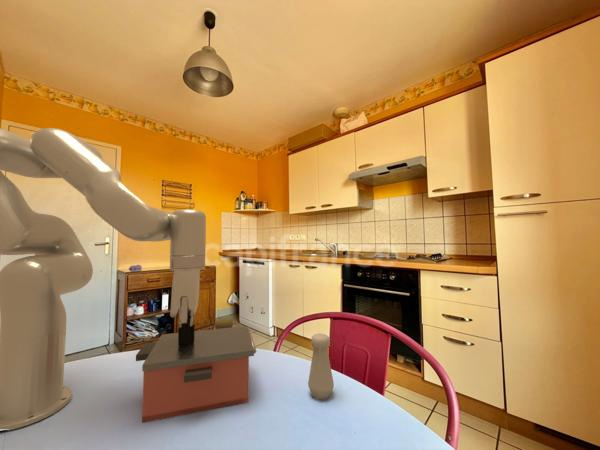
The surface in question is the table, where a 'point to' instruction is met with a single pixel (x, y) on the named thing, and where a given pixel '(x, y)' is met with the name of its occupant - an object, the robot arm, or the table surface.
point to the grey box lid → (197, 348)
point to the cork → (223, 323)
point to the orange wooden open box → (194, 388)
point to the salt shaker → (320, 368)
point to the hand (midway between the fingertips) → (186, 343)
